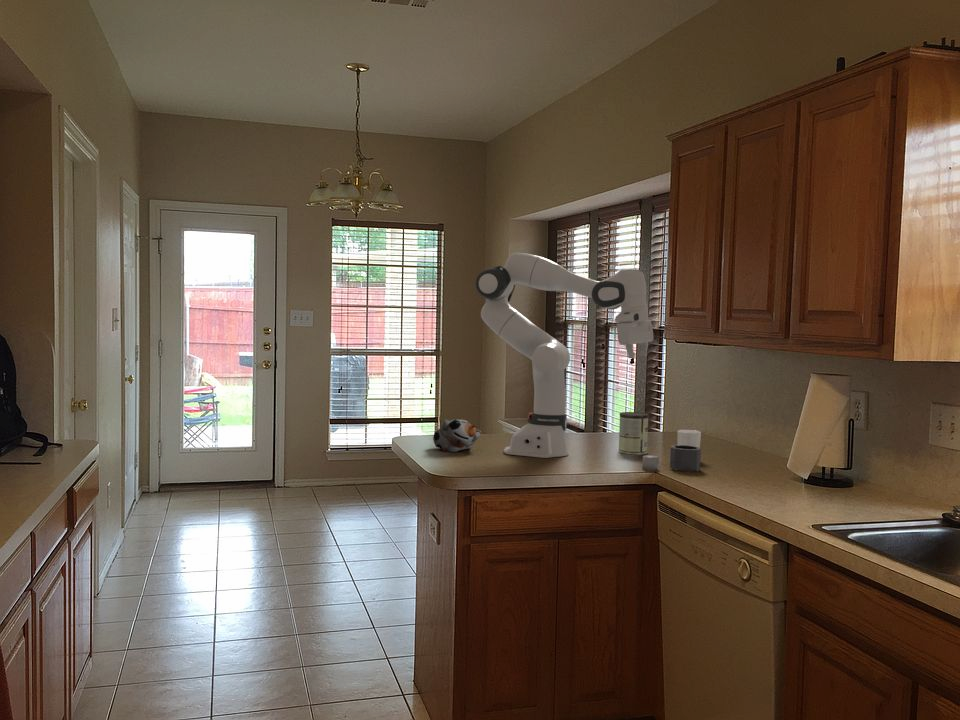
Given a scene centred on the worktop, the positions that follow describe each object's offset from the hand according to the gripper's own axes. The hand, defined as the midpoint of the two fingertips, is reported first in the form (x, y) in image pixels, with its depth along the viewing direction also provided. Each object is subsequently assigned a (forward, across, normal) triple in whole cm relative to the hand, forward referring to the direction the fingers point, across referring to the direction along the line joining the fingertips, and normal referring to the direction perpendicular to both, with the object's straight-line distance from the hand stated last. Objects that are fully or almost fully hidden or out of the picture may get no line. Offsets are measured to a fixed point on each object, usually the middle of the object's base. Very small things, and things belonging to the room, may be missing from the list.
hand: (637, 357), depth 283 cm
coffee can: (+35, -14, -12) cm, 40 cm away
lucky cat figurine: (+28, +28, -58) cm, 71 cm away
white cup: (+37, -14, +9) cm, 41 cm away
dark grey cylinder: (+37, +3, +15) cm, 40 cm away
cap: (+36, +11, +7) cm, 38 cm away
